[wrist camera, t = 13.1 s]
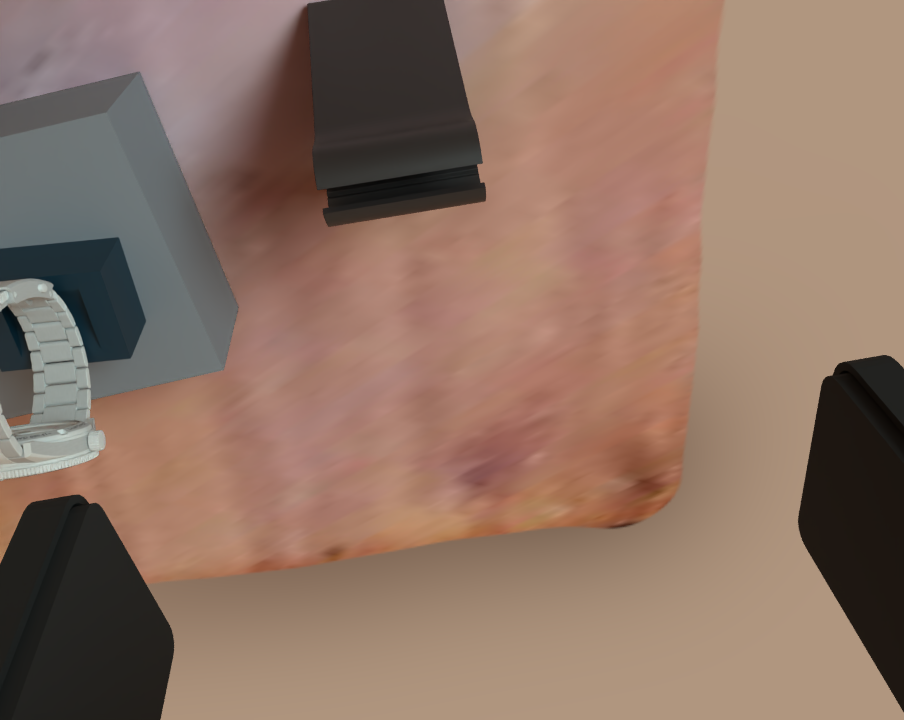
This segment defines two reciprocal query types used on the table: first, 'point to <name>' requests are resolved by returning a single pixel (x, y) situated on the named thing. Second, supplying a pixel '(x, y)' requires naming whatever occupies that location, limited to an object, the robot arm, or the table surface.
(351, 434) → the table surface
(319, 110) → the phone stand
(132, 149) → the base block
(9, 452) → the watch
